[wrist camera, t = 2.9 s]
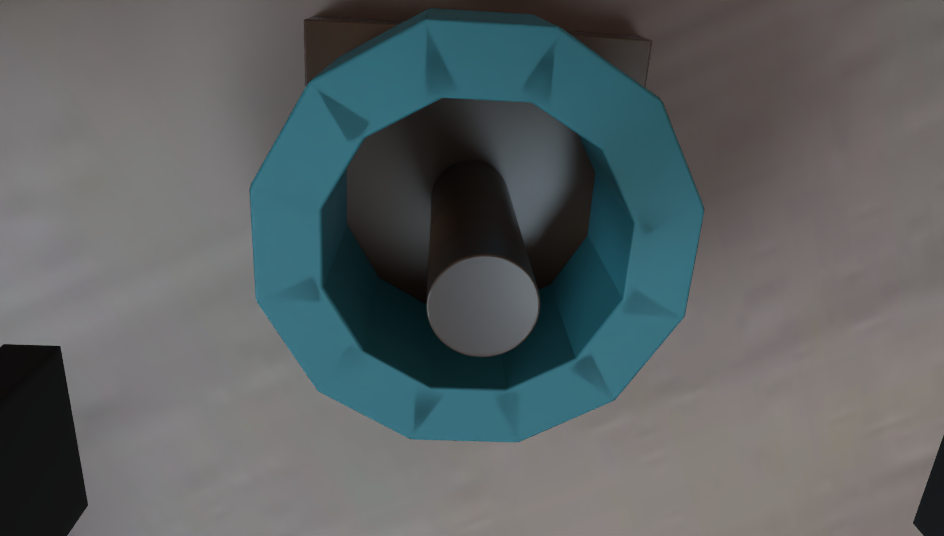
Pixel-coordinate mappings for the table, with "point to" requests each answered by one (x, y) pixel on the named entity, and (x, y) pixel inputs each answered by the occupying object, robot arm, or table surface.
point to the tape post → (470, 196)
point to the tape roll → (561, 303)
